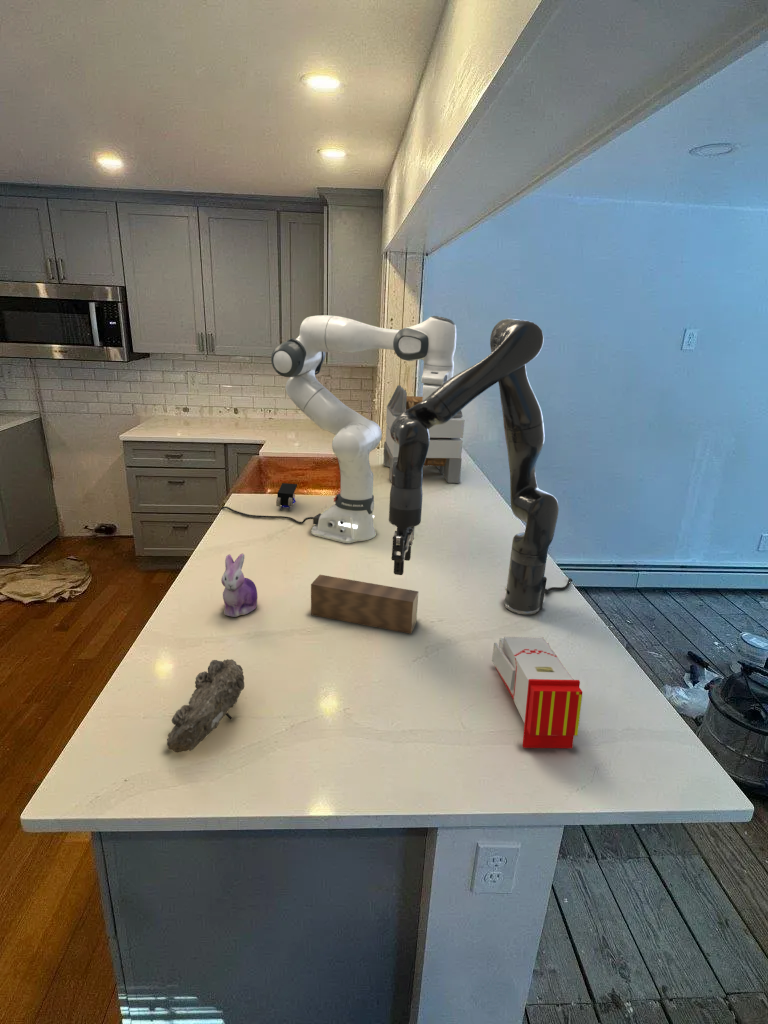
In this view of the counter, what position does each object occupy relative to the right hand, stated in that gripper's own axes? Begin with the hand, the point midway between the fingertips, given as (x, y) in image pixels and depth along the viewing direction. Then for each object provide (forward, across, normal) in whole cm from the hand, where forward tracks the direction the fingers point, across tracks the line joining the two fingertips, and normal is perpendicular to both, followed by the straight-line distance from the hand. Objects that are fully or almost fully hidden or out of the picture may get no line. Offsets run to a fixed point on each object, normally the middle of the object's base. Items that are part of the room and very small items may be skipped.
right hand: (402, 566), depth 137 cm
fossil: (+16, -43, +27) cm, 54 cm away
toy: (+16, -21, -32) cm, 41 cm away
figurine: (+16, -5, +41) cm, 44 cm away
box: (+16, 0, +9) cm, 19 cm away
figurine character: (+16, +73, +61) cm, 96 cm away
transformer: (+16, +140, +20) cm, 143 cm away
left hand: (-27, +47, +2) cm, 54 cm away
